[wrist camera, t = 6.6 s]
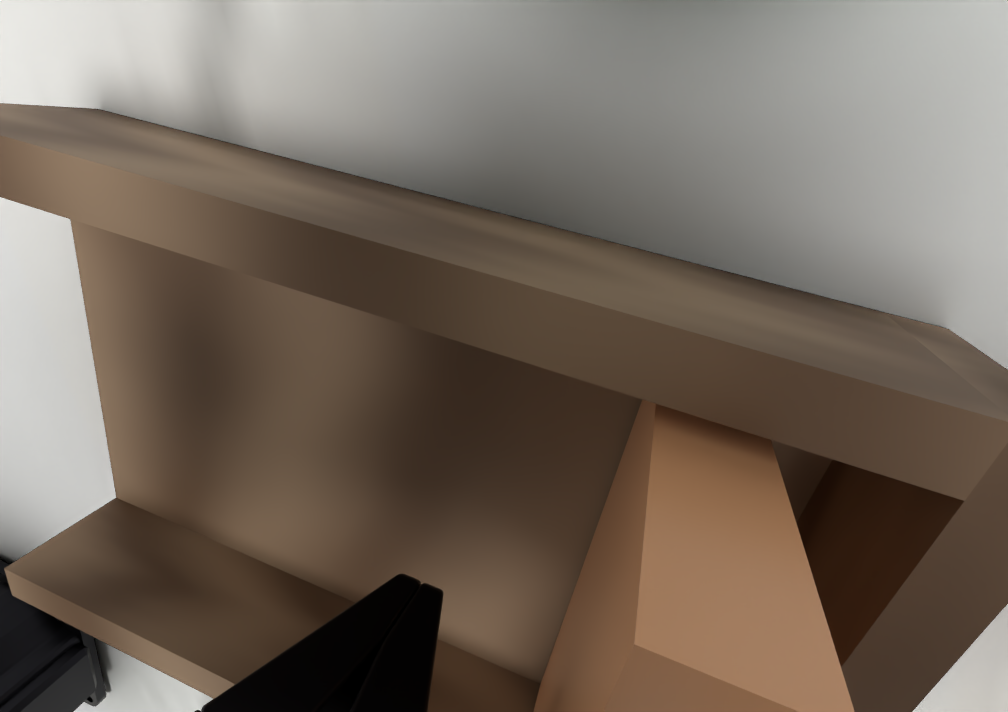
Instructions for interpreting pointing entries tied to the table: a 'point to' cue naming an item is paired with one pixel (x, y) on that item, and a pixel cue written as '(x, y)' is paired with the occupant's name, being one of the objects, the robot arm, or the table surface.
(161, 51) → the table surface
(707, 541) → the tan wooden beam
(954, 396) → the brown wooden tray
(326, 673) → the robot arm
